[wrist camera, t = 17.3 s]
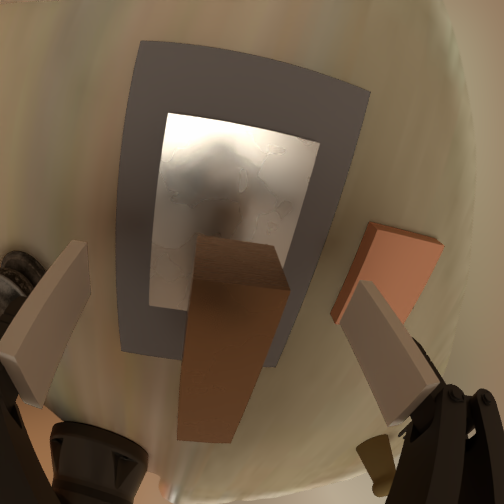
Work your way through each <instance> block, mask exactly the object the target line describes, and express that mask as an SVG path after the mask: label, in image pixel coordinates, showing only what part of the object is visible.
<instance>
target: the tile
mask: <svg viewBox="0 0 504 504" xmlns="http://www.w3.org/2000/svg"><path fill="white" fill-rule="evenodd" d="M444 247H445V246H444V245H443V244H442V243H440V242H439V241H438V240H437V239H435V238H432V237H428V236H424V235H421V234H417V233H413V232H409V231H405V230H401V229H398V228H394V227H390V226H386V225H382V224H377V223H373V222H369V223H368V226H367V228H366V231H365V234H364V236H363V239H362V241H361V244H360V246H359V249H358V251H357V254H356V256H355V259H354V261H353V263H352V266H351V268H350V270H349V273H348V275H347V277H346V280H345V282H344V284H343V287H342V289H341V291H340V293H339V296H338V298H337V300H336V302H335V304H334V307H333V309H332V311H331V313H330V314H331V316H332V318H333V320H334V323H335V324H340V323H339V322H340V320H341V318H342V316H343V314H344V312H345V310H346V308H347V306H348V304H349V302H350V300H351V298H352V295H353V293H354V291H355V289H356V287H357V285H358V282H359V280H366V281H372V282H373V283H374V285H375V286H376V287H377V289H378V290H379V291H380V293H381V294H382V296H383V297H384V298H385V300H386V301H387V303H388V304H389V305H390V307H391V308H392V310H393V311H394V312H395V314H396V315H397V317H398V318H399V320H400V321H401V323H402V324H404V322H405V321H406V319H407V317H408V315H409V314H410V312H411V310H412V309H413V307H414V305H415V303H416V302H417V300H418V298H419V296H420V294H421V293H422V291H423V289H424V287H425V285H426V283H427V281H428V279H429V277H430V275H431V274H432V272H433V270H434V268H435V265H436V263H437V261H438V259H439V257H440V255H441V253H442V251H443V249H444Z"/></svg>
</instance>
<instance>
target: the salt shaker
mask: <svg viewBox="0 0 504 504" xmlns="http://www.w3.org/2000/svg"><path fill="white" fill-rule="evenodd" d="M45 273H46V272H45V270H44V269H43V267H42V266H41V265H40V264H39V263H38V262H37V261H36V260H35V259H34V258H33V257H31V256H30V255H28V254H26V253H24V252H20V251H12V252H10V253H8V254H7V255H6V256H5V257H4V258H3V261H2V263H1V268H0V317H1V315H2V314H4V311H5V309H6V308H7V306H8V305H9V304H10V302H12V301H13V300H15V299H16V298H17V297H19V296H24V297H29V295H30V294H31V292H32V291H33V290H34V288H35V287H36V285H37V284H38V283H39V281H40V280H41V279H42V277H43V276H44V275H45Z"/></svg>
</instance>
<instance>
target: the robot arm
mask: <svg viewBox="0 0 504 504" xmlns="http://www.w3.org/2000/svg"><path fill="white" fill-rule="evenodd" d="M90 295H91V288H90V278H89V265H88V249H87V242H82V241H76V240H72V241H71V242H70V243H69V244H68V245H67V247H66V248H65V249H64V250H63V252H62V253H61V254H60V255H59V256H58V258H57V259H56V260H55V262H54V263H53V264H52V265H51V267H50V268H49V269H48V271H47V272H46V273H45V275H44V276H43V277H42V279H41V280H40V281H39V283H38V284H37V285H36V287H35V288H34V290H33V291H32V292H31V294H30V295H29V297H24V296H19V297H17V298H16V299H15V300H13V301H12V302H10V304H9V305H8V306H7V308H6V309H5V311H4V314H2V315H1V317H0V504H133V500H134V497H135V495H136V493H137V491H138V488H139V486H140V484H141V482H142V480H143V478H144V475H145V473H146V471H147V467H148V455H147V453H146V452H145V451H144V450H143V449H142V448H141V447H140V446H138V445H137V444H135V443H133V442H131V441H129V440H127V439H125V438H123V437H121V436H119V435H116V434H114V433H111V432H108V431H105V430H102V429H99V428H96V427H92V426H88V425H84V424H79V423H73V422H60V423H56V424H55V425H54V426H53V428H52V432H51V436H50V448H51V457H52V465H53V472H54V477H53V483H52V487H51V485H50V483H49V481H48V479H47V477H46V475H45V473H44V471H43V469H42V467H41V464H40V462H39V460H38V458H37V456H36V453H35V451H34V449H33V446H32V444H31V441H30V439H29V436H28V434H27V431H26V428H25V426H24V423H23V420H22V417H21V414H20V411H19V408H18V406H17V404H16V402H15V401H16V399H17V396H18V394H19V395H20V397H21V399H22V400H23V402H24V403H26V404H28V405H31V406H34V407H37V408H40V409H42V408H43V405H44V402H45V399H46V396H47V393H48V391H49V388H50V385H51V383H52V380H53V377H54V375H55V372H56V370H57V367H58V365H59V362H60V360H61V357H62V355H63V353H64V350H65V348H66V346H67V343H68V341H69V339H70V336H71V334H72V332H73V330H74V328H75V326H76V323H77V321H78V319H79V317H80V315H81V313H82V311H83V309H84V307H85V305H86V303H87V301H88V299H89V297H90ZM339 323H340V325H341V327H342V329H343V331H344V333H345V335H346V337H347V339H348V341H349V343H350V345H351V347H352V349H353V352H354V354H355V356H356V358H357V360H358V362H359V364H360V366H361V369H362V371H363V373H364V375H365V377H366V379H367V381H368V384H369V386H370V388H371V390H372V392H373V395H374V397H375V399H376V401H377V404H378V406H379V408H380V410H381V413H382V415H383V417H384V420H385V422H386V424H387V426H388V427H390V426H394V425H399V424H402V423H403V422H404V421H405V420H406V419H407V418H408V417H409V416H410V417H411V419H412V421H411V422H410V423H409V424H408V425H407V426H406V427H405V428H404V429H403V430H402V431H401V432H400V433H399V435H398V437H400V436H401V435H403V434H404V433H405V432H406V435H405V436H404V437H403V439H405V440H404V444H403V448H402V452H401V456H400V459H399V463H398V466H397V469H396V473H395V476H394V479H393V482H392V485H391V488H390V491H389V494H388V497H387V499H386V503H385V504H504V430H503V426H502V422H501V419H500V415H499V411H498V408H497V404H496V401H495V399H494V397H493V395H492V394H491V393H490V392H489V391H488V390H486V389H479V390H478V391H477V392H476V393H475V394H474V395H473V396H467V395H464V393H463V391H462V390H461V389H459V388H458V387H457V386H455V385H452V384H448V385H446V383H445V382H444V380H443V379H442V377H441V375H440V374H439V372H438V371H437V369H436V367H435V366H434V364H433V363H432V361H430V358H429V357H428V355H426V352H425V350H424V349H423V347H422V346H421V345H420V344H419V343H418V342H417V341H416V340H415V339H414V338H413V337H411V336H410V334H409V333H408V331H407V330H406V328H405V327H404V325H403V324H402V323H401V321H400V320H399V318H398V317H397V315H396V314H395V312H394V311H393V310H392V308H391V307H390V305H389V304H388V303H387V301H386V300H385V298H384V297H383V296H382V294H381V293H380V291H379V290H378V289H377V287H376V286H375V285H374V283H373V282H372V281H366V280H359V282H358V285H357V287H356V289H355V291H354V293H353V295H352V298H351V300H350V302H349V304H348V306H347V308H346V310H345V312H344V314H343V316H342V318H341V320H340V322H339ZM474 428H475V429H476V434H475V435H474V436H472V437H471V438H470V439H468V435H467V434H468V433H470V432H471V431H472V430H473V429H474Z"/></svg>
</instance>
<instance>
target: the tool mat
mask: <svg viewBox="0 0 504 504" xmlns="http://www.w3.org/2000/svg"><path fill="white" fill-rule="evenodd" d="M370 93H371V92H369V91H367V90H365V89H362V88H360V87H357V86H354V85H352V84H349V83H347V82H344V81H341V80H339V79H336V78H333V77H330V76H327V75H324V74H321V73H318V72H315V71H312V70H309V69H305V68H302V67H299V66H295V65H292V64H288V63H284V62H281V61H277V60H273V59H269V58H265V57H260V56H256V55H251V54H247V53H242V52H236V51H231V50H225V49H220V48H213V47H206V46H199V45H191V44H182V43H172V42H158V41H141V42H140V46H139V50H138V54H137V58H136V62H135V67H134V72H133V76H132V81H131V87H130V92H129V98H128V103H127V109H126V116H125V123H124V130H123V137H122V146H121V155H120V165H119V176H118V190H117V209H116V288H117V306H118V320H119V332H120V342H121V351H124V352H129V353H135V354H141V355H148V356H154V357H161V358H168V359H176V360H182V354H183V344H184V334H185V325H186V317H187V311H185V310H178V309H170V308H163V307H156V306H150V305H149V287H150V264H151V248H152V234H153V222H154V211H155V201H156V192H157V184H158V176H159V168H160V161H161V154H162V147H163V141H164V135H165V129H166V123H167V117H168V113H178V114H185V115H192V116H199V117H206V118H212V119H218V120H223V121H229V122H234V123H240V124H245V125H250V126H255V127H259V128H264V129H268V130H273V131H277V132H281V133H285V134H290V135H294V136H297V137H301V138H305V139H309V140H313V141H316V142H318V143H320V145H319V149H318V152H317V156H316V159H315V163H314V167H313V170H312V174H311V177H310V181H309V184H308V187H307V191H306V194H305V198H304V201H303V205H302V208H301V211H300V215H299V218H298V221H297V225H296V228H295V231H294V234H293V238H292V241H291V244H290V247H289V251H288V254H287V257H286V260H285V263H284V267H283V271H284V274H285V277H286V279H287V282H288V285H289V287H290V290H291V292H290V294H289V297H288V300H287V303H286V306H285V308H284V311H283V314H282V317H281V319H280V322H279V325H278V327H277V330H276V333H275V335H274V338H273V341H272V343H271V346H270V348H269V351H268V354H267V356H266V359H265V361H264V364H263V366H262V367H276V365H277V363H278V361H279V358H280V356H281V354H282V351H283V349H284V347H285V344H286V342H287V339H288V337H289V335H290V332H291V330H292V327H293V325H294V323H295V320H296V318H297V315H298V313H299V310H300V308H301V305H302V303H303V300H304V297H305V295H306V292H307V290H308V287H309V284H310V282H311V279H312V277H313V274H314V271H315V269H316V266H317V263H318V260H319V258H320V255H321V252H322V249H323V247H324V244H325V241H326V238H327V235H328V232H329V229H330V227H331V224H332V221H333V218H334V215H335V212H336V209H337V206H338V203H339V200H340V197H341V194H342V190H343V187H344V184H345V181H346V178H347V175H348V171H349V168H350V165H351V161H352V158H353V155H354V151H355V148H356V145H357V141H358V138H359V134H360V130H361V127H362V123H363V120H364V116H365V112H366V108H367V105H368V101H369V97H370Z"/></svg>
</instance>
